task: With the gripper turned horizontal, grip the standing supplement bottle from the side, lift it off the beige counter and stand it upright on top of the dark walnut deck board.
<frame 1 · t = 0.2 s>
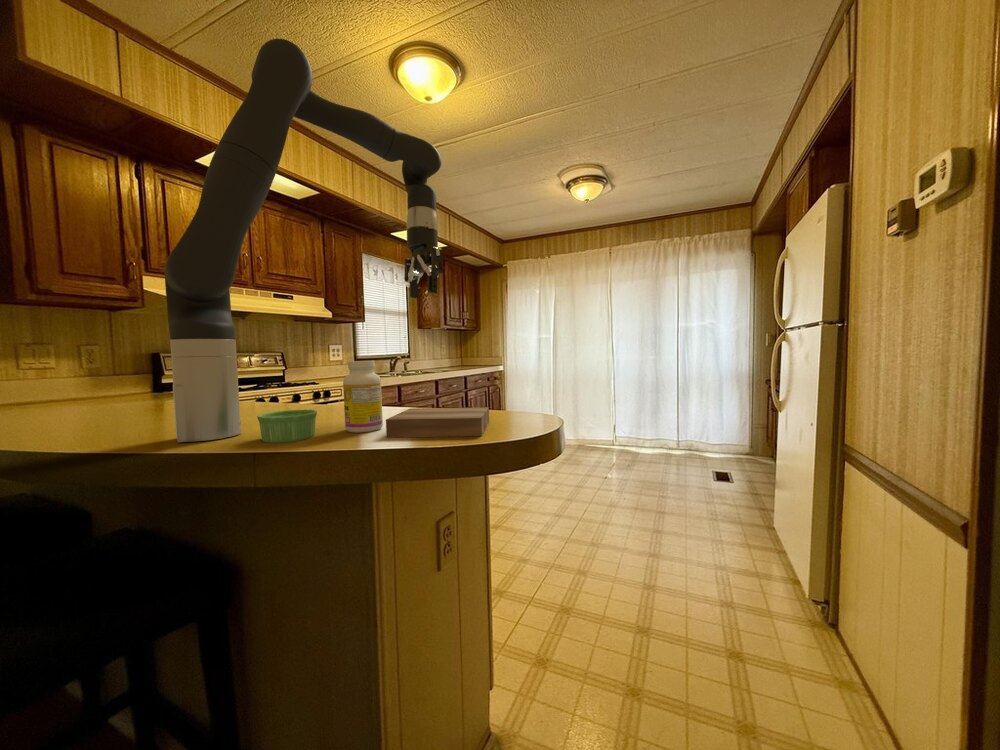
hand: (423, 295, 97), 29 cm above the table, tool pointing down, fingers open, 8 cm apart
ramekin: (289, 439, 67), on the table
walnut deck: (442, 429, 71), on the table
supplement bottle: (364, 430, 73), on the table
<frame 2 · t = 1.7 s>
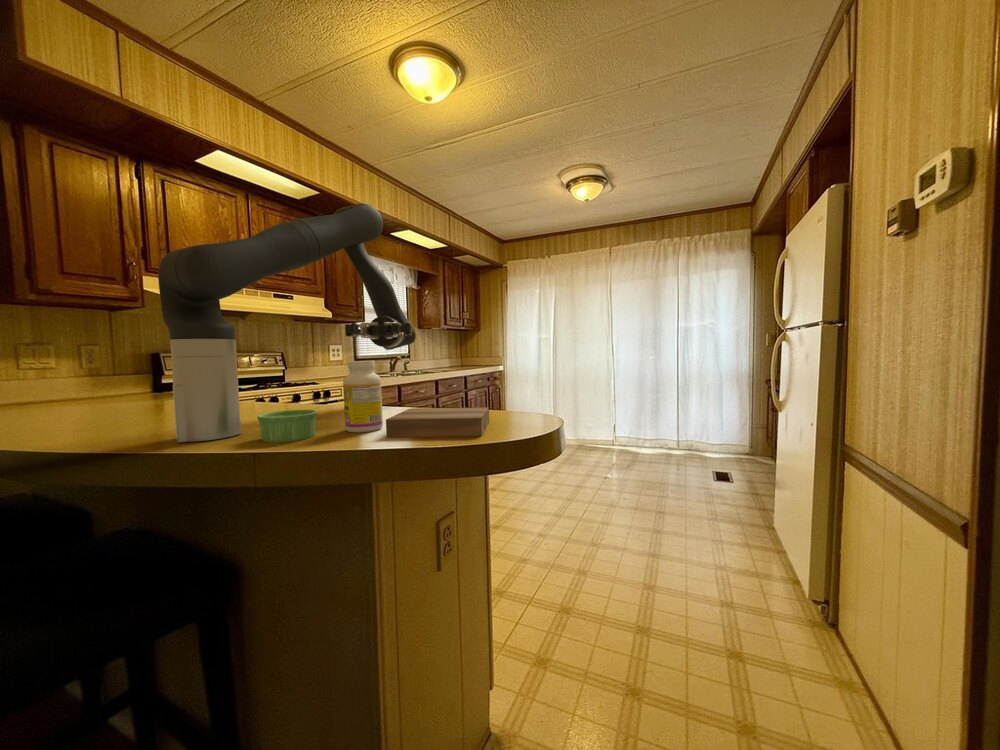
hand: (373, 328, 83), 20 cm above the table, tool horizontal, fingers open, 8 cm apart
nothing on the table moved.
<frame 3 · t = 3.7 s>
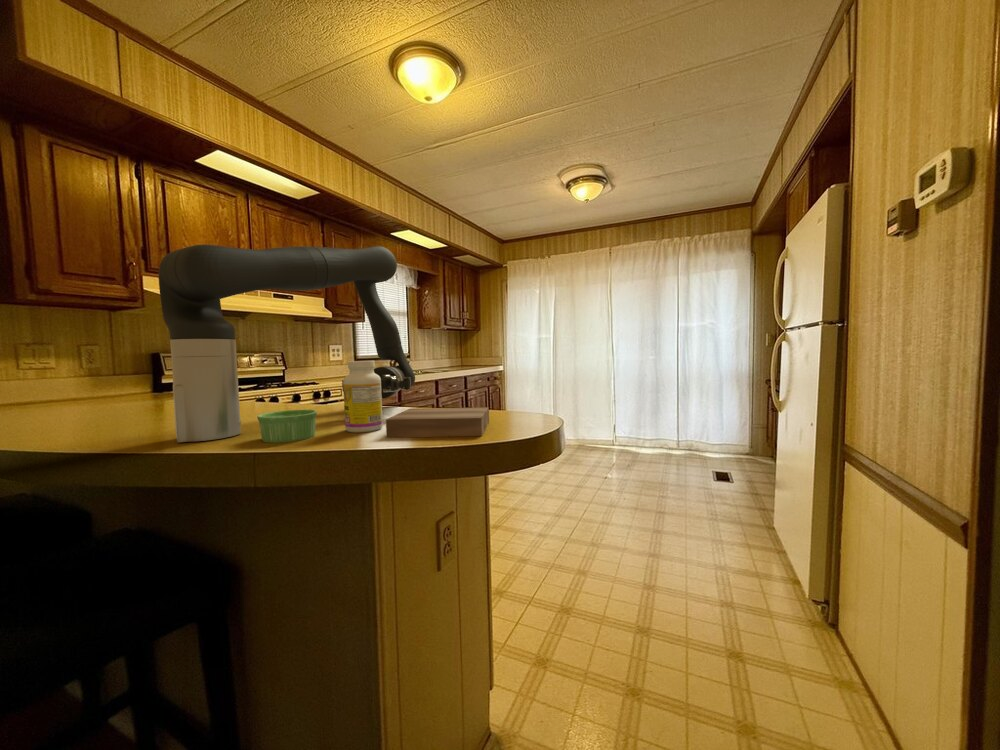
hand: (371, 386, 80), 7 cm above the table, tool horizontal, fingers open, 8 cm apart
nothing on the table moved.
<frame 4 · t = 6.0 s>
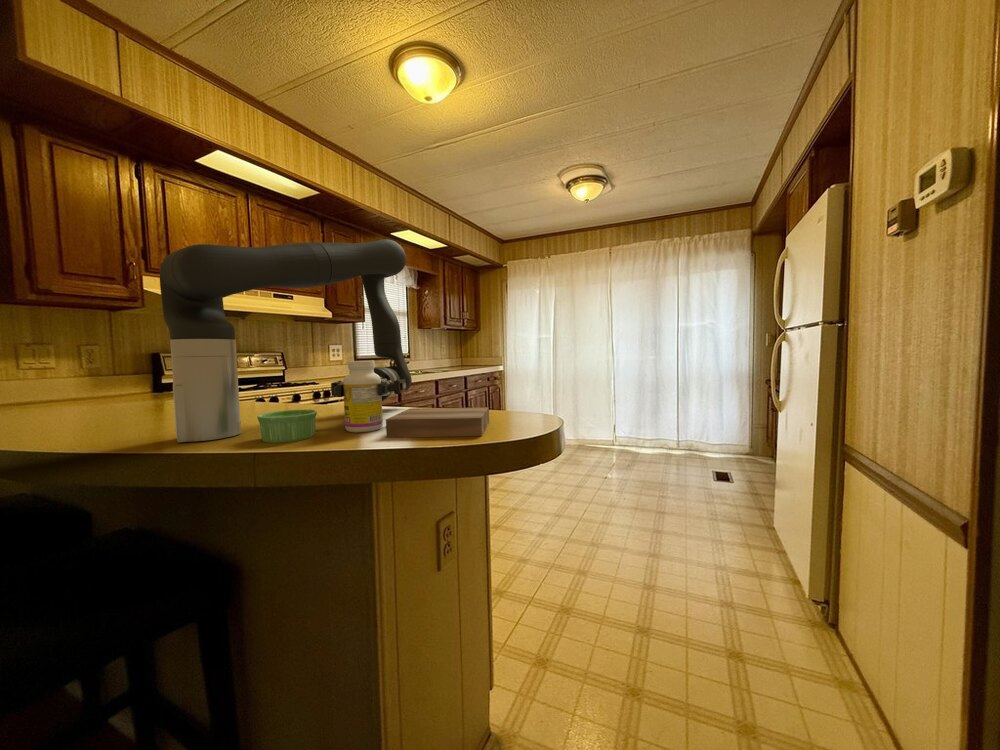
hand: (359, 390, 70), 8 cm above the table, tool horizontal, fingers closed on supplement bottle, 6 cm apart
supplement bottle: (364, 430, 73), on the table, touching gripper
everything else where it was.
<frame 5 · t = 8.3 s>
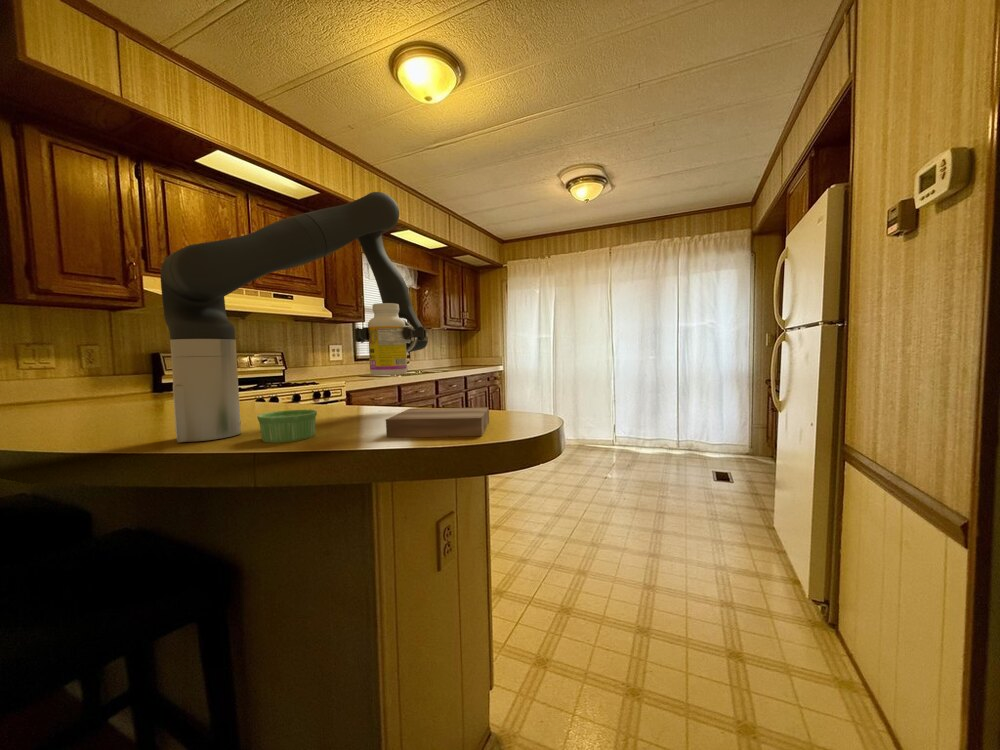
hand: (385, 333, 70), 18 cm above the table, tool horizontal, fingers closed on supplement bottle, 6 cm apart
supplement bottle: (389, 375, 73), point 10 cm above the table, touching gripper
everything else where it was.
when the fingers open (12 cm above the table, at t = 10.7 s): supplement bottle drops 1 cm, resting on walnut deck.
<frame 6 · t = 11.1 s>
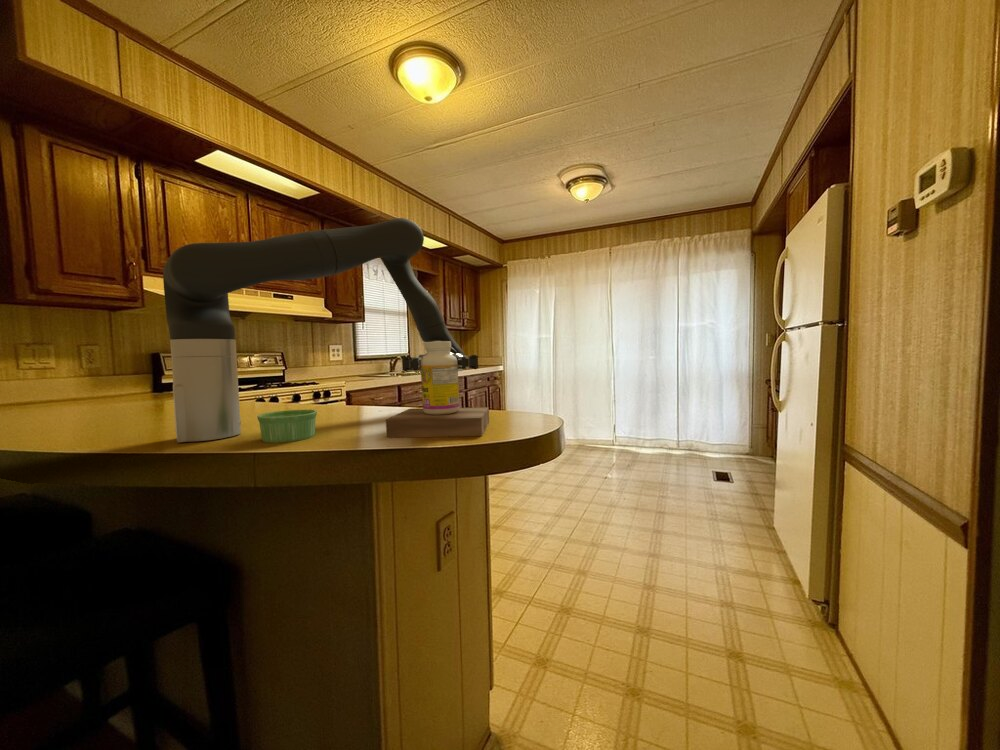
hand: (439, 363, 69), 12 cm above the table, tool horizontal, fingers open, 8 cm apart
supplement bottle: (441, 413, 71), point 3 cm above the table, touching walnut deck
everything else where it was.
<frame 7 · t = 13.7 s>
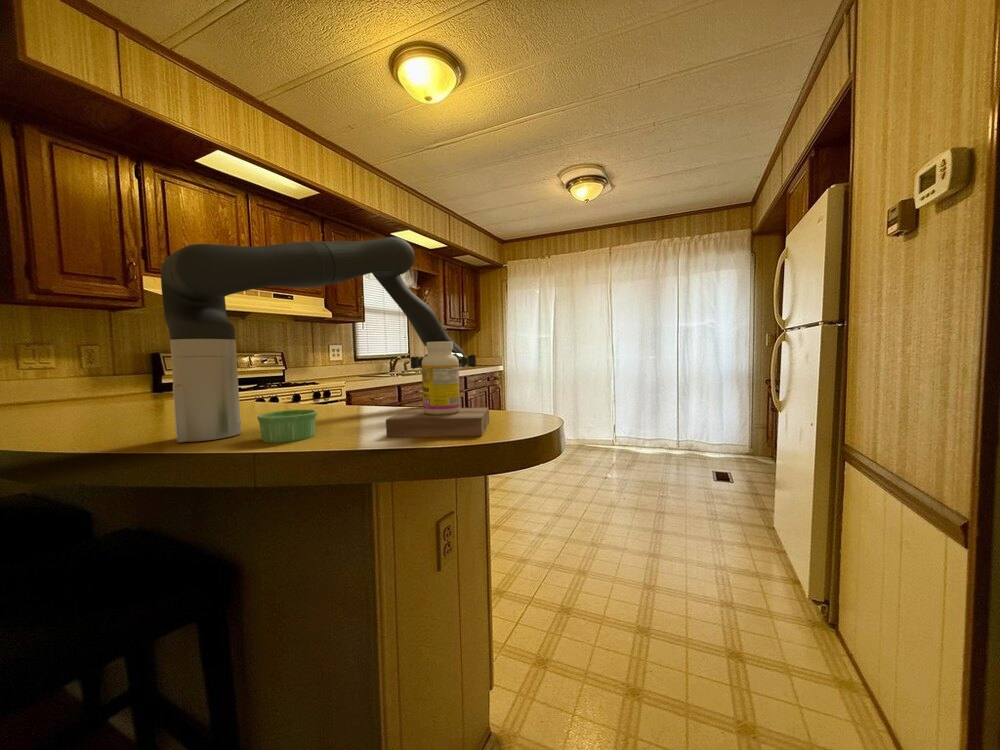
hand: (442, 362, 81), 12 cm above the table, tool horizontal, fingers open, 8 cm apart
nothing on the table moved.
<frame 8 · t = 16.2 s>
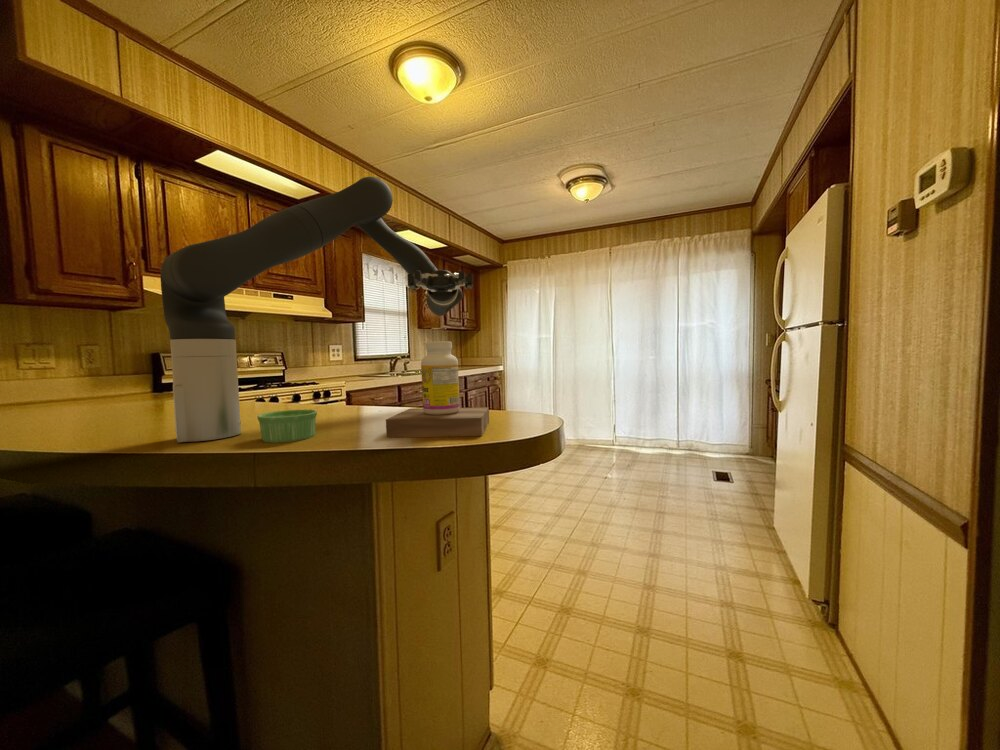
hand: (439, 275, 81), 30 cm above the table, tool horizontal, fingers open, 8 cm apart
nothing on the table moved.
at the end: supplement bottle inside the target area on the walnut deck (0.1 cm from its centre), point 2.8 cm above the walnut deck's base; supplement bottle tilted 0°; the gripper is holding nothing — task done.
